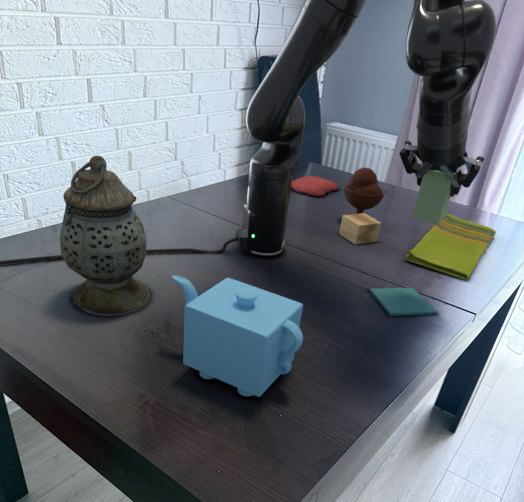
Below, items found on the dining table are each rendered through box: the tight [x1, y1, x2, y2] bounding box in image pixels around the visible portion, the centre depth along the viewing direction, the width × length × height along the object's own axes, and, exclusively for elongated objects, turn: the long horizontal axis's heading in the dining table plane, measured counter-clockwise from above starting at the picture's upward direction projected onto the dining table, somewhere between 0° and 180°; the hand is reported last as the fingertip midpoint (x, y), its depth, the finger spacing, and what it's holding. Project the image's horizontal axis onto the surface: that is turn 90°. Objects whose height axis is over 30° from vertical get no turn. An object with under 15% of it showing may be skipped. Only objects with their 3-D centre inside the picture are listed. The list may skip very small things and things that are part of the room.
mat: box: [369, 287, 437, 317], centre depth 103 cm, size 10×10×1 cm
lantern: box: [59, 155, 151, 317], centre depth 85 cm, size 14×14×25 cm
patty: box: [291, 175, 340, 198], centre depth 161 cm, size 18×14×2 cm
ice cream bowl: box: [343, 167, 386, 214], centre depth 134 cm, size 11×11×15 cm
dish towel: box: [405, 212, 497, 281], centre depth 129 cm, size 15×36×3 cm, turn 150°
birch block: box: [338, 212, 382, 245], centre depth 128 cm, size 7×7×5 cm
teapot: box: [171, 274, 304, 398], centre depth 75 cm, size 22×11×14 cm, turn 61°
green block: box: [411, 169, 452, 225], centre depth 93 cm, size 5×5×9 cm
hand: (438, 188), depth 94 cm, fingers closed on green block, 5 cm apart
